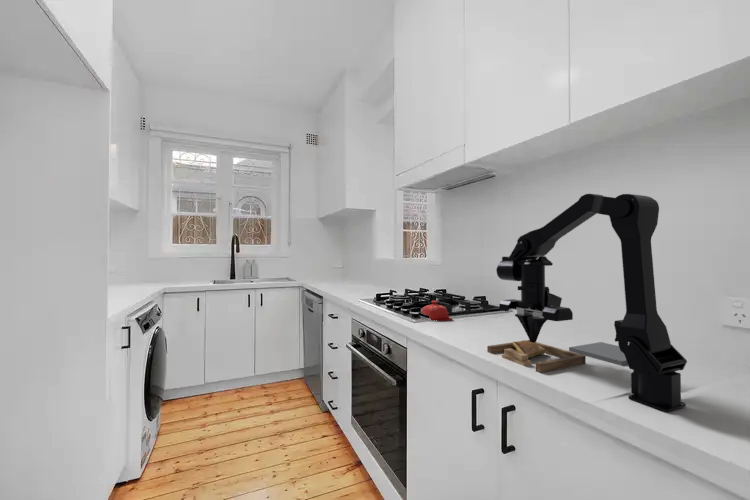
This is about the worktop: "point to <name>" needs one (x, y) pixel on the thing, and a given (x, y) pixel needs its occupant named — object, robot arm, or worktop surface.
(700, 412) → the worktop surface
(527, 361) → the lower oak offcut
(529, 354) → the shard
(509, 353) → the upper oak offcut
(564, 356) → the walnut open-sided frame
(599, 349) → the charcoal mat
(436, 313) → the butter dish
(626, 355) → the robot arm
